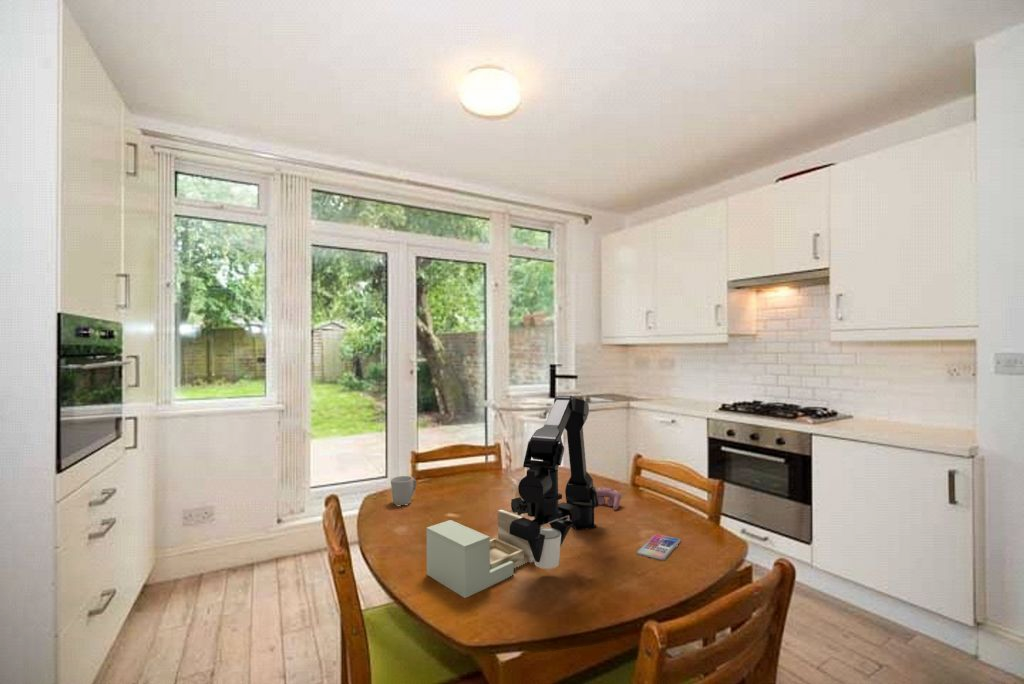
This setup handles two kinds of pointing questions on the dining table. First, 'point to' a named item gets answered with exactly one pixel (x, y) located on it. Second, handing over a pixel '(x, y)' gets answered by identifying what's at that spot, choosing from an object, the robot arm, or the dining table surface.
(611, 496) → the video game controller
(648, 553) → the smartphone
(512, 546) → the drawer
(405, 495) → the cup
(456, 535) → the caddy
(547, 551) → the grey and white tumbler
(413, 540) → the dining table surface
